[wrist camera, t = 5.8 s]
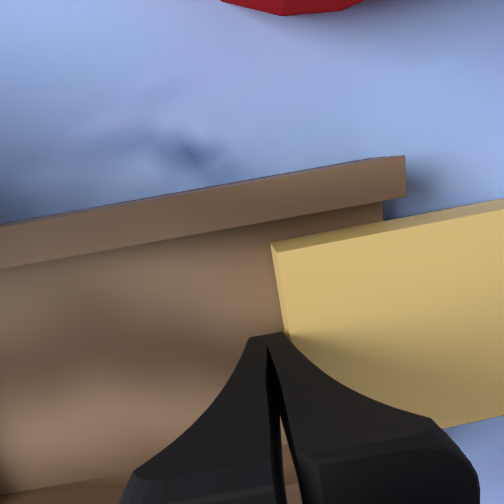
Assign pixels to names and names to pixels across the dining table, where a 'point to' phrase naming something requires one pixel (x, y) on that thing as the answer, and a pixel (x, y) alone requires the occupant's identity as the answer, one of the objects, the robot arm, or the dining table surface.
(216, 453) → the robot arm
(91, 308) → the walnut box
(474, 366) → the cover plate
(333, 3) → the kitchen timer
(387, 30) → the dining table surface
